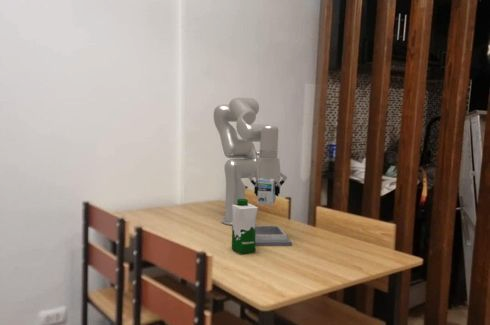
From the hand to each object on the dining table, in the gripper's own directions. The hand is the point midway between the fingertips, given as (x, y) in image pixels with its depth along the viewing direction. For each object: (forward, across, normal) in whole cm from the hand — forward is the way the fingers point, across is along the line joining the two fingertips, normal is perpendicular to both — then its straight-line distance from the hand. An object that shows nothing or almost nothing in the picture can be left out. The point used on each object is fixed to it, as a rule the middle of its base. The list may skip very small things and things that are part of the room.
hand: (266, 195), depth 185 cm
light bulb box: (+3, 0, 0) cm, 3 cm away
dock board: (+19, 0, 0) cm, 19 cm away
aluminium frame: (+18, 0, 0) cm, 18 cm away
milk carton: (+20, -12, -15) cm, 27 cm away
